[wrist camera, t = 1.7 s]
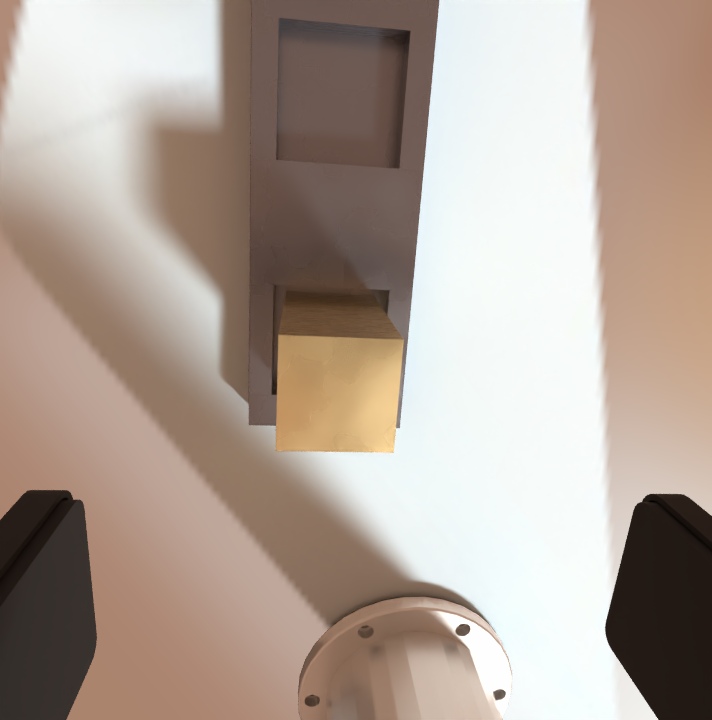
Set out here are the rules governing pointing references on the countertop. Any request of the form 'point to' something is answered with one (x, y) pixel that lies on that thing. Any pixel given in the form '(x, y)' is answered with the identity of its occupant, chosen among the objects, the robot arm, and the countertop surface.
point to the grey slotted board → (334, 162)
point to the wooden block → (337, 374)
